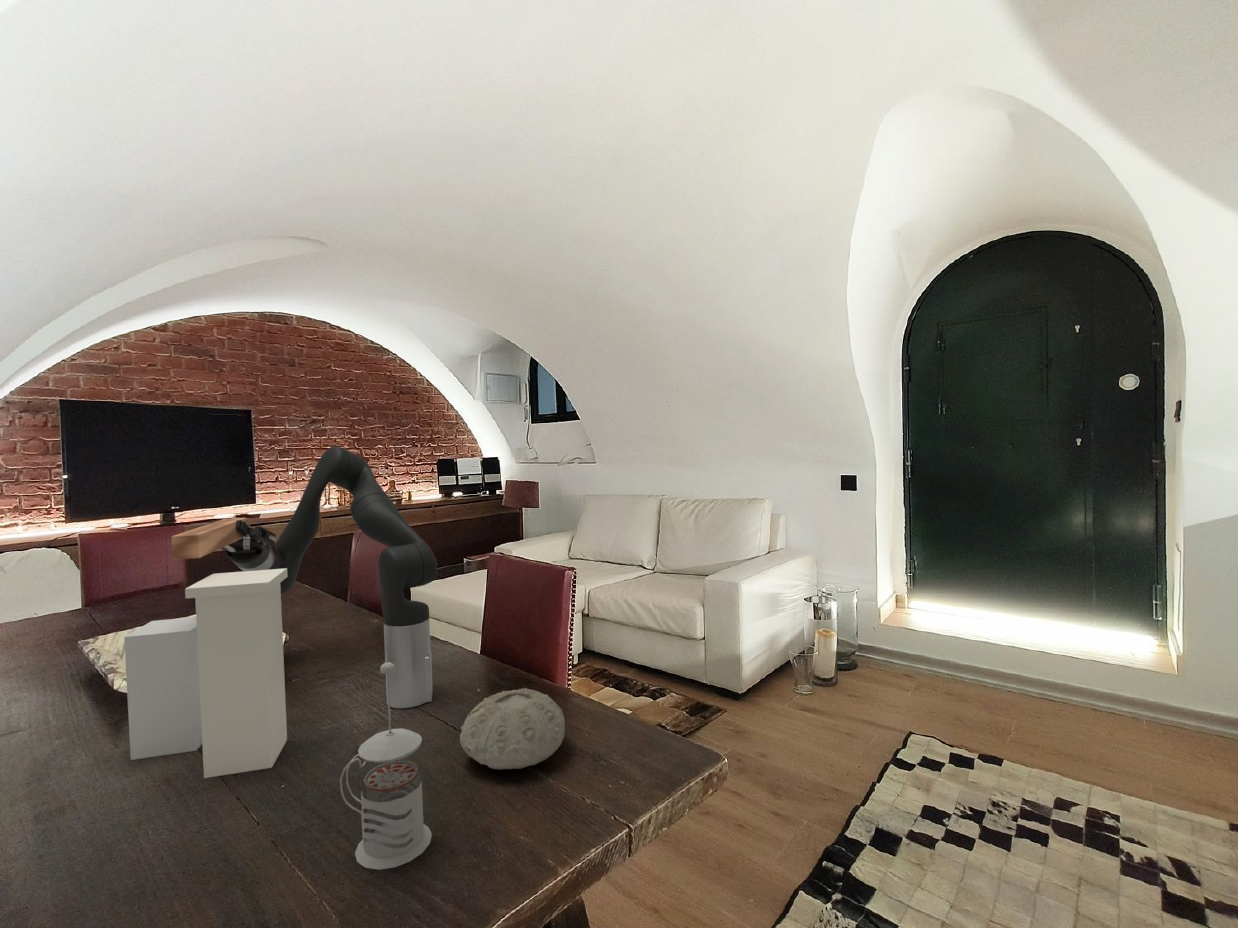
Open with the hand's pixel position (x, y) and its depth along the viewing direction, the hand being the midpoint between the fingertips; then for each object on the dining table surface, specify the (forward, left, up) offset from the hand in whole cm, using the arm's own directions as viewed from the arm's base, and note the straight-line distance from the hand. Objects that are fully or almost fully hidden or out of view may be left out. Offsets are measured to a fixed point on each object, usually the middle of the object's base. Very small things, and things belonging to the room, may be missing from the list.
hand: (225, 524), depth 119 cm
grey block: (+7, +9, -39) cm, 41 cm away
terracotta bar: (0, +6, -3) cm, 7 cm away
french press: (-34, +52, -40) cm, 73 cm away
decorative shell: (-53, +34, -40) cm, 74 cm away
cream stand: (-8, +20, -39) cm, 45 cm away
